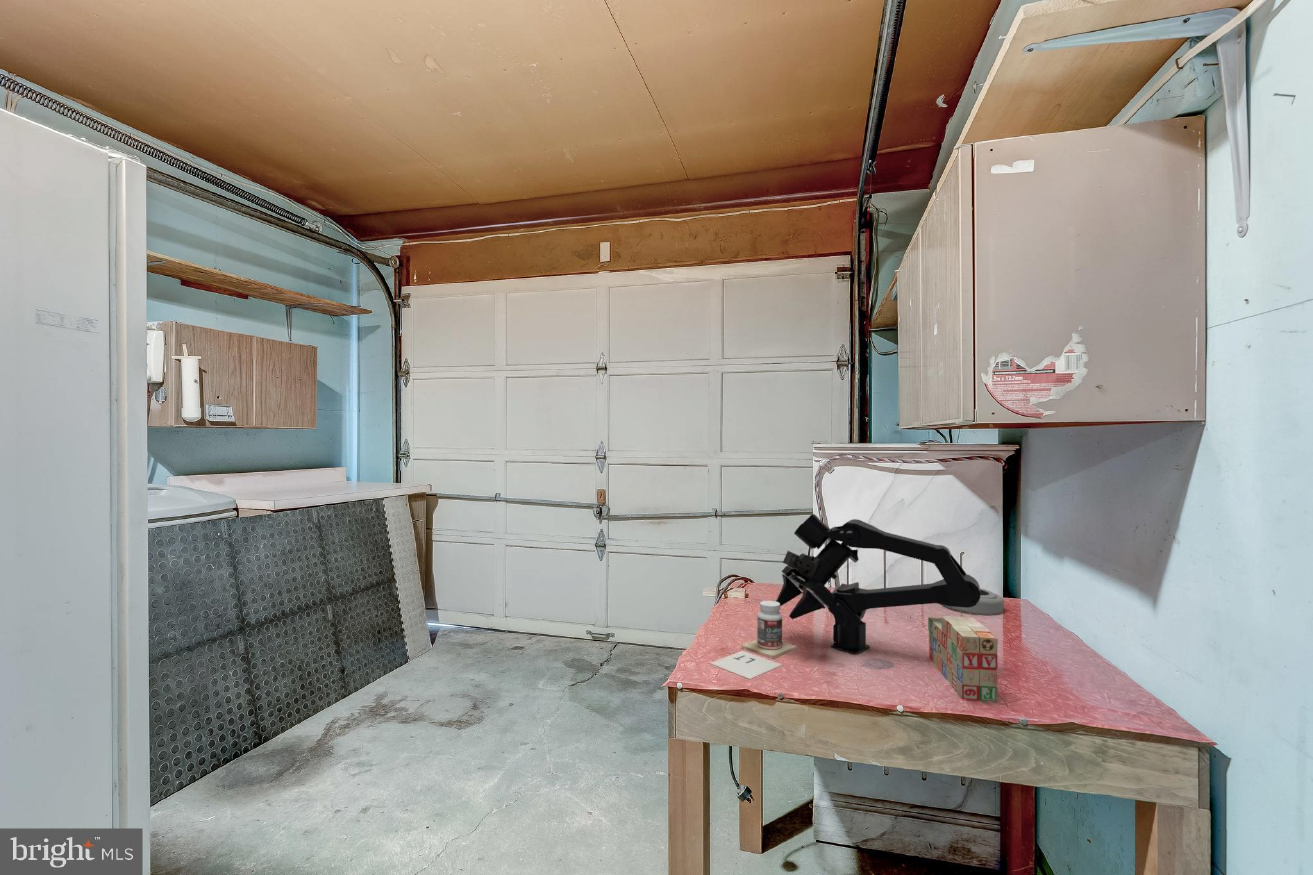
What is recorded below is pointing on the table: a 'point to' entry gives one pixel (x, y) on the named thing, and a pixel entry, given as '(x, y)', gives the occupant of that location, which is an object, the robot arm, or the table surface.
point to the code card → (746, 664)
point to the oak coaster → (769, 653)
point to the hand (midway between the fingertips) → (783, 611)
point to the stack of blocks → (965, 656)
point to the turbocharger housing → (984, 604)
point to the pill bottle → (769, 625)
